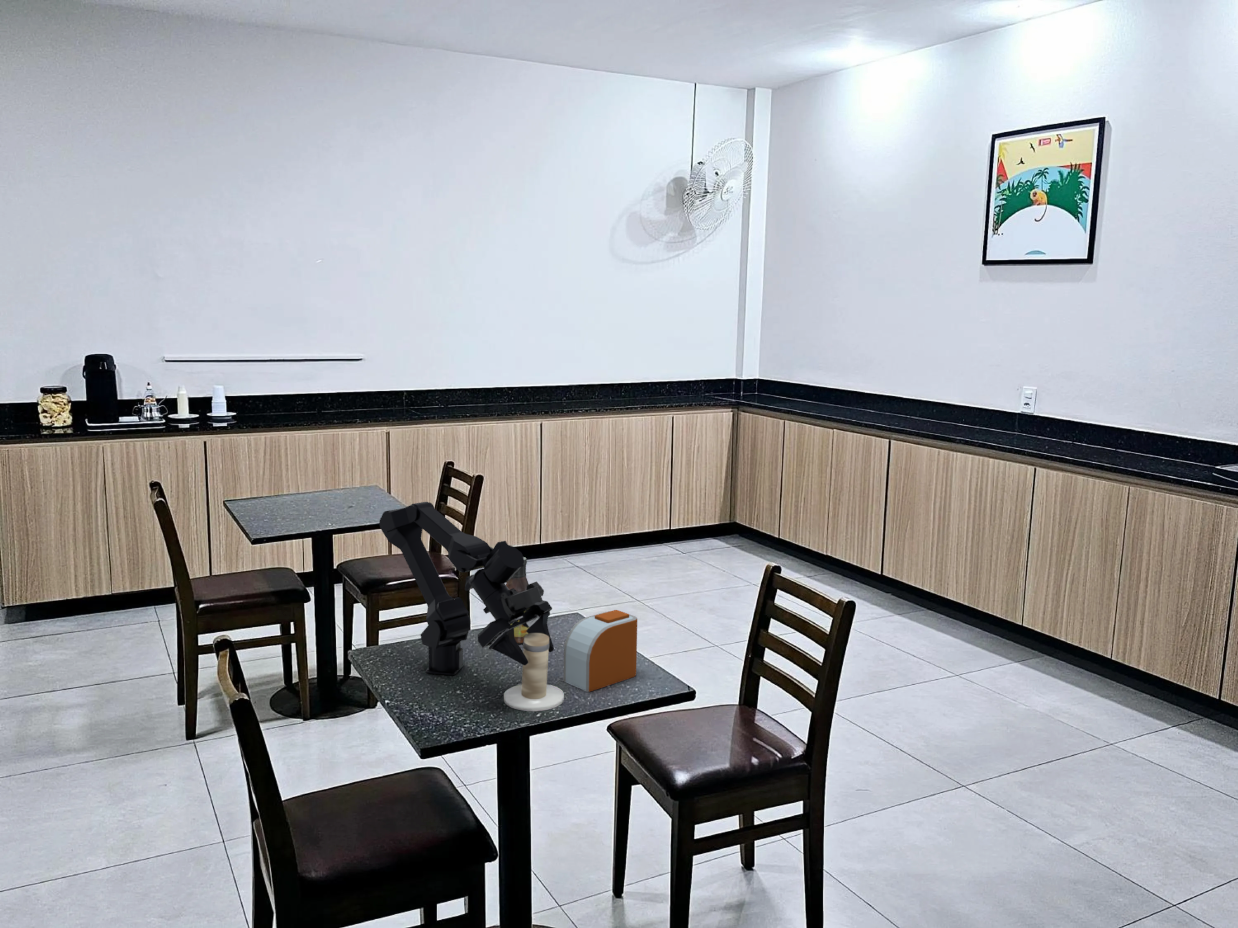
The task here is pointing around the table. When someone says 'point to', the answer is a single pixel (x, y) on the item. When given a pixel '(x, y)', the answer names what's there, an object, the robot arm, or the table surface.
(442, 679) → the table surface
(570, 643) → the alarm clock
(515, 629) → the sauce bottle
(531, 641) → the beech handle
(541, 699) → the ceramic plate
